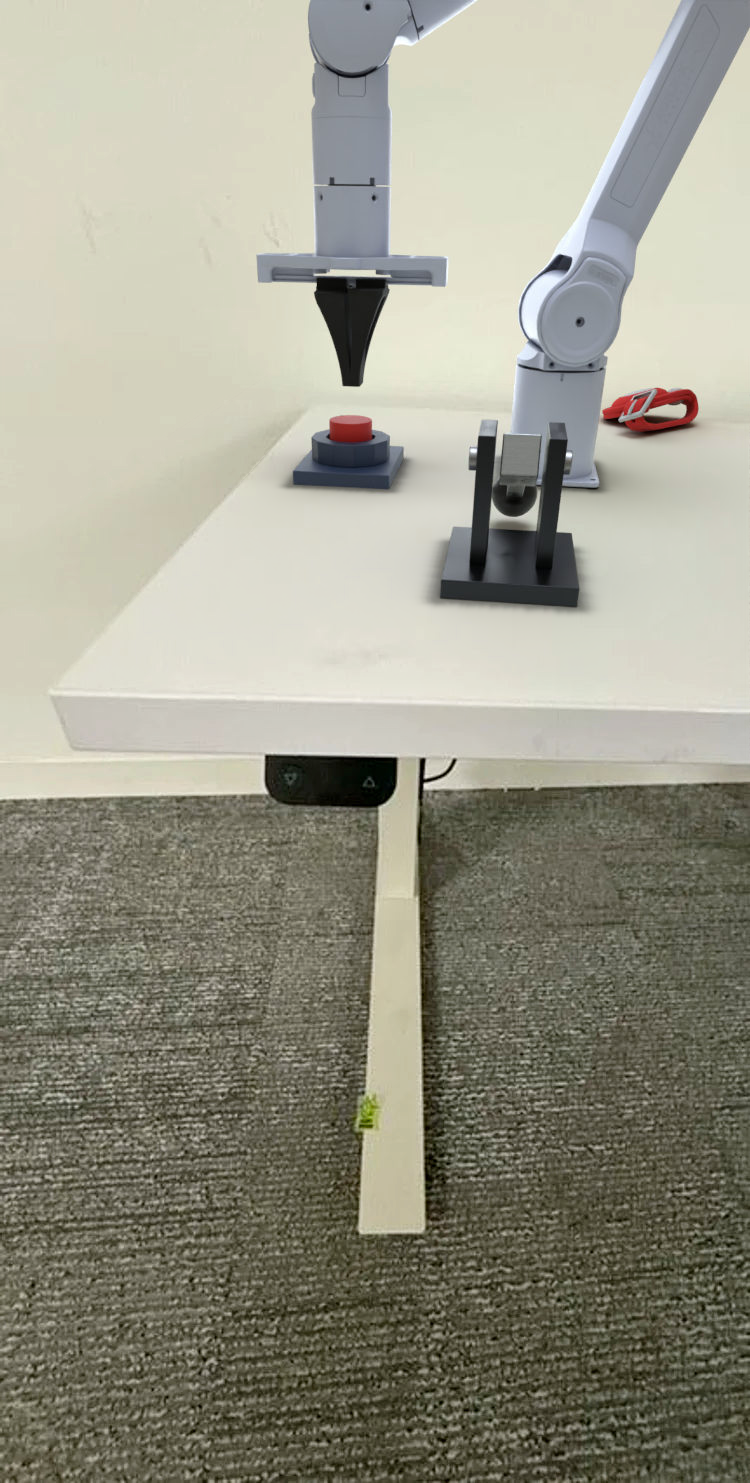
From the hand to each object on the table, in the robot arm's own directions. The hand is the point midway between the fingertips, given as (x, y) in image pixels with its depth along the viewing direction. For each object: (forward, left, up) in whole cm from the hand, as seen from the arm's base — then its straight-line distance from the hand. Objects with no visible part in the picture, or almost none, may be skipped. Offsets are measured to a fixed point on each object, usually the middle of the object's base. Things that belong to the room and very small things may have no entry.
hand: (352, 384), depth 70 cm
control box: (-1, 0, -7) cm, 7 cm away
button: (-1, 0, -5) cm, 5 cm away
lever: (+17, +14, -4) cm, 22 cm away
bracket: (+21, +14, -7) cm, 26 cm away
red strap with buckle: (-25, +27, -8) cm, 37 cm away
